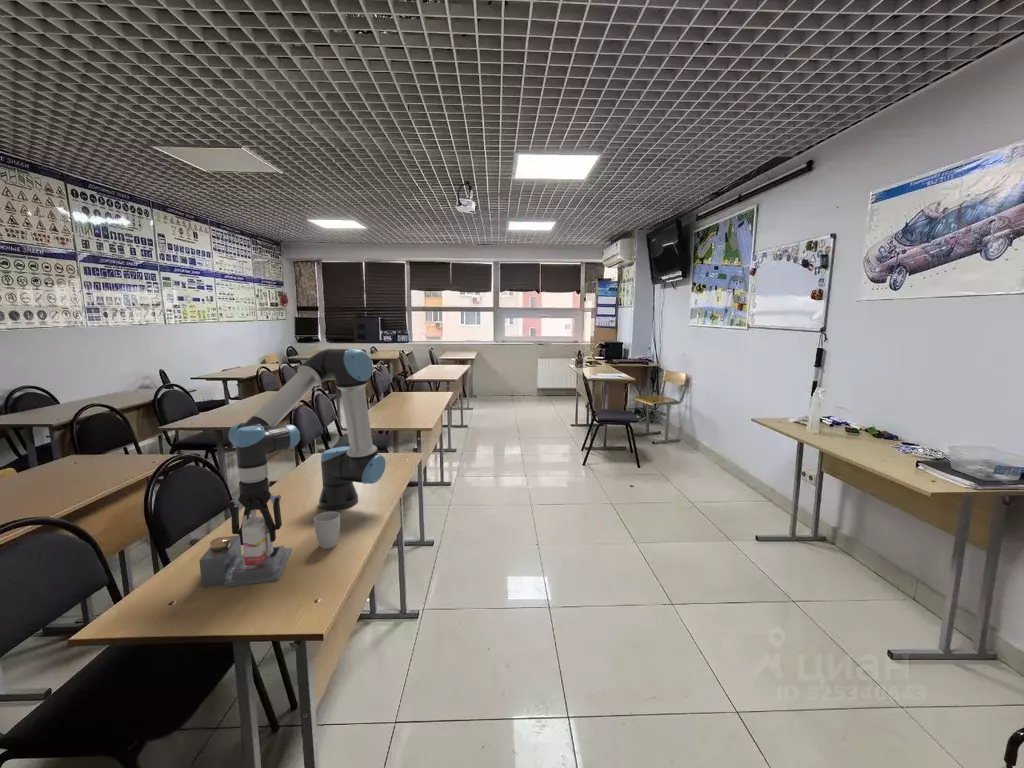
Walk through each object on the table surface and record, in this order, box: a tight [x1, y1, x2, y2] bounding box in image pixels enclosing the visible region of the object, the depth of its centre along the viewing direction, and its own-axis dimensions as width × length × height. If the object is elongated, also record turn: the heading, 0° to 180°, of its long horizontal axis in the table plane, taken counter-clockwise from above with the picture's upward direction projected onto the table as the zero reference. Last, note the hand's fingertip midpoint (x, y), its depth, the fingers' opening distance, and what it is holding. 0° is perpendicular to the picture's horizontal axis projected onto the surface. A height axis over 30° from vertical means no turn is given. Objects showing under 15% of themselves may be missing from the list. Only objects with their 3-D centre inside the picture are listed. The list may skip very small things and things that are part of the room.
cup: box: [313, 511, 341, 550], centre depth 149 cm, size 8×8×10 cm
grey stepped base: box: [199, 534, 293, 589], centre depth 134 cm, size 20×18×10 cm
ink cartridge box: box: [241, 510, 273, 566], centre depth 134 cm, size 9×5×15 cm, turn 5°
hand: (259, 552), depth 135 cm, fingers closed on ink cartridge box, 5 cm apart
